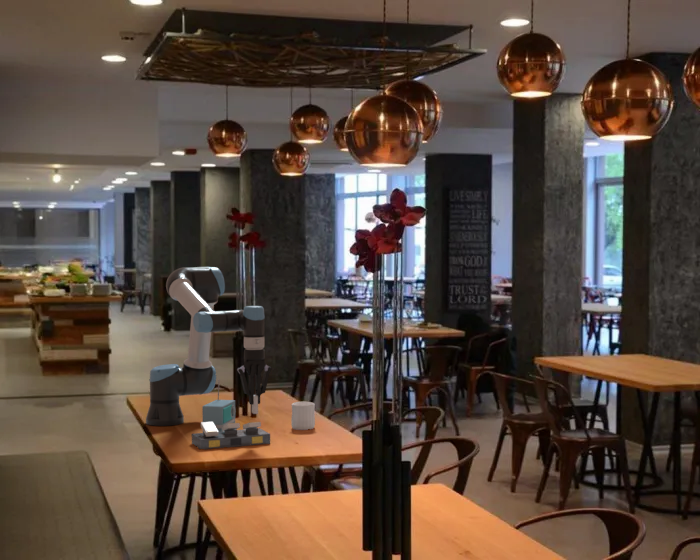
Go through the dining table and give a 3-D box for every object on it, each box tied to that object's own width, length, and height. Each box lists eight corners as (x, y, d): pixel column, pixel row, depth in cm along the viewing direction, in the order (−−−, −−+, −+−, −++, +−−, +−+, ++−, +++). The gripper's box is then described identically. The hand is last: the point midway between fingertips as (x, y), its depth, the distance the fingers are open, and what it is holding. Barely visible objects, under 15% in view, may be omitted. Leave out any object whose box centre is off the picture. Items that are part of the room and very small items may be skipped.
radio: (225, 438, 377) (224, 385, 377) (202, 437, 379) (201, 384, 378) (238, 430, 393) (237, 379, 392) (216, 429, 395) (215, 379, 394)
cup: (296, 431, 391) (296, 406, 391) (287, 426, 400) (287, 402, 400) (318, 429, 395) (318, 404, 395) (309, 425, 404) (309, 400, 404)
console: (191, 443, 367) (191, 430, 367) (259, 437, 378) (259, 424, 378) (200, 449, 356) (200, 436, 356) (270, 443, 367) (270, 430, 366)
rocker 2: (222, 431, 369) (221, 426, 370) (233, 430, 371) (233, 425, 371) (228, 428, 362) (227, 423, 363) (240, 427, 364) (239, 422, 364)
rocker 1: (200, 426, 366) (200, 422, 366) (212, 425, 368) (212, 421, 368) (206, 436, 359) (206, 432, 359) (218, 435, 361) (218, 431, 361)
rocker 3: (243, 429, 373) (242, 424, 373) (254, 428, 374) (254, 423, 375) (249, 427, 365) (249, 422, 366) (261, 426, 367) (260, 421, 367)
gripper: (240, 350, 360) (240, 416, 360) (274, 348, 365) (275, 413, 366) (233, 348, 366) (234, 412, 367) (267, 346, 372) (268, 410, 373)
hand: (254, 413), depth 366 cm, fingers closed
